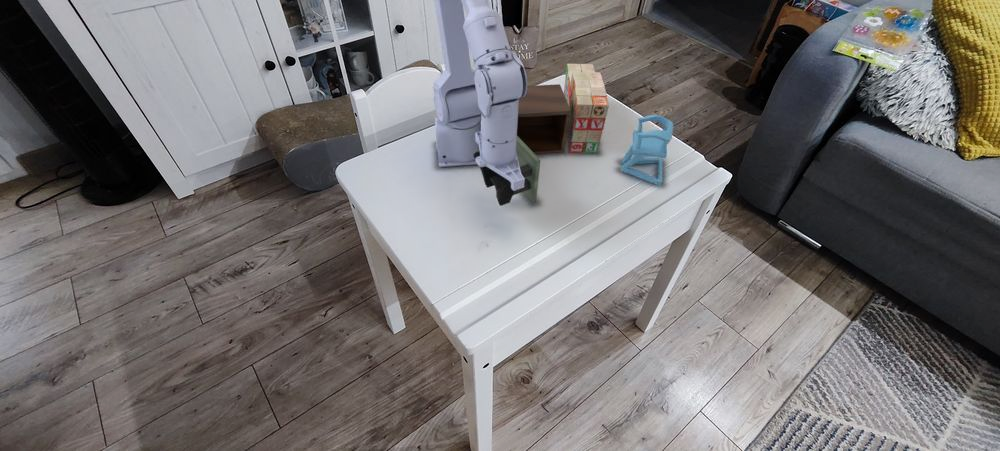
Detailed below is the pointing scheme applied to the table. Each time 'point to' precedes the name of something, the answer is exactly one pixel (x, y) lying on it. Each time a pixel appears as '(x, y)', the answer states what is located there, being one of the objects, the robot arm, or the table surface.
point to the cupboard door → (528, 170)
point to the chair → (648, 148)
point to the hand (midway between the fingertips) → (497, 193)
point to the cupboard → (543, 119)
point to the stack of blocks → (585, 107)
